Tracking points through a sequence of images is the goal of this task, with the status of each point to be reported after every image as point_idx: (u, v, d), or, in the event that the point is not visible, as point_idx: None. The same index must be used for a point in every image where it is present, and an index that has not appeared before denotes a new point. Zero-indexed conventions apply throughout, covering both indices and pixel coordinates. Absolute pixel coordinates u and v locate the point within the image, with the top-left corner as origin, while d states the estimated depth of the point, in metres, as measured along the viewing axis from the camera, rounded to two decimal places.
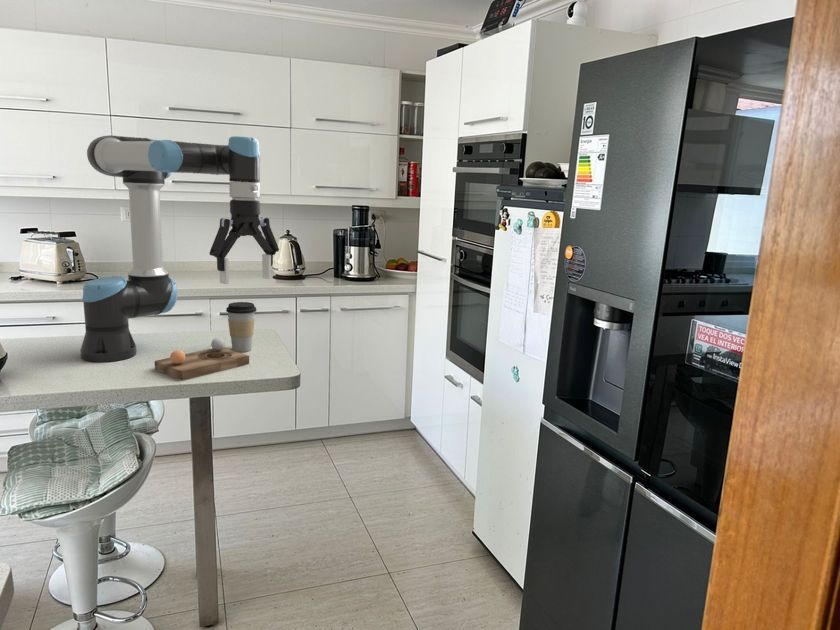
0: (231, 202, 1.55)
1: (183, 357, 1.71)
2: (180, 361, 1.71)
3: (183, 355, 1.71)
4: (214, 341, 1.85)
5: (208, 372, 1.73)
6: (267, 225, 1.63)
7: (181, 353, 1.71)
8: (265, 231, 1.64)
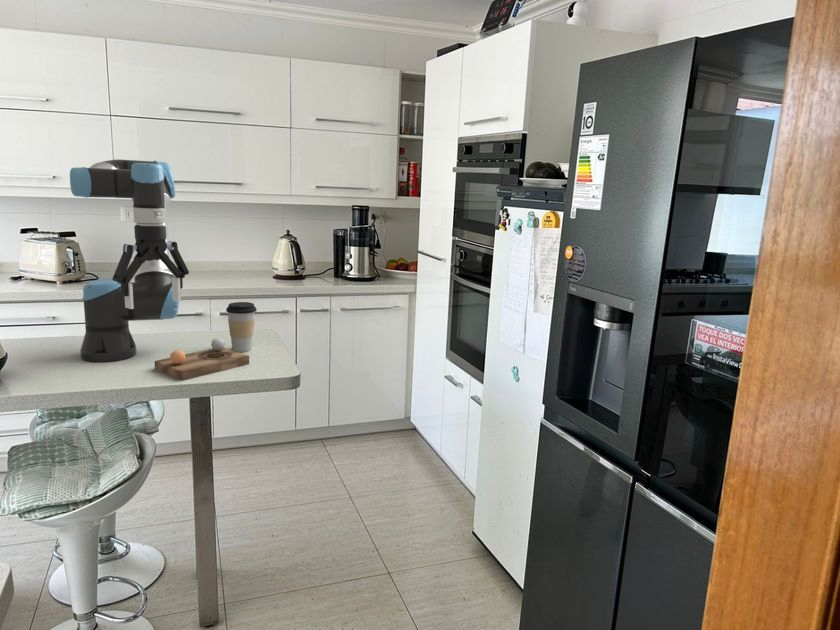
0: (135, 227, 1.56)
1: (183, 357, 1.71)
2: (180, 361, 1.71)
3: (183, 355, 1.71)
4: (214, 341, 1.85)
5: (208, 372, 1.73)
6: (175, 248, 1.64)
7: (181, 353, 1.71)
8: (173, 255, 1.65)
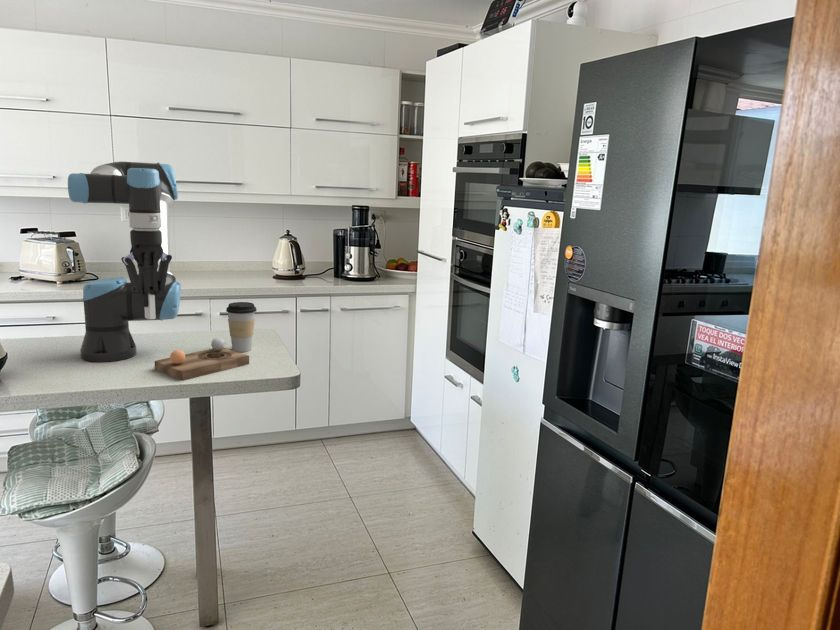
0: (131, 232, 1.56)
1: (183, 357, 1.71)
2: (180, 361, 1.71)
3: (183, 355, 1.71)
4: (214, 341, 1.85)
5: (208, 372, 1.73)
6: (167, 261, 1.63)
7: (181, 353, 1.71)
8: (161, 266, 1.63)
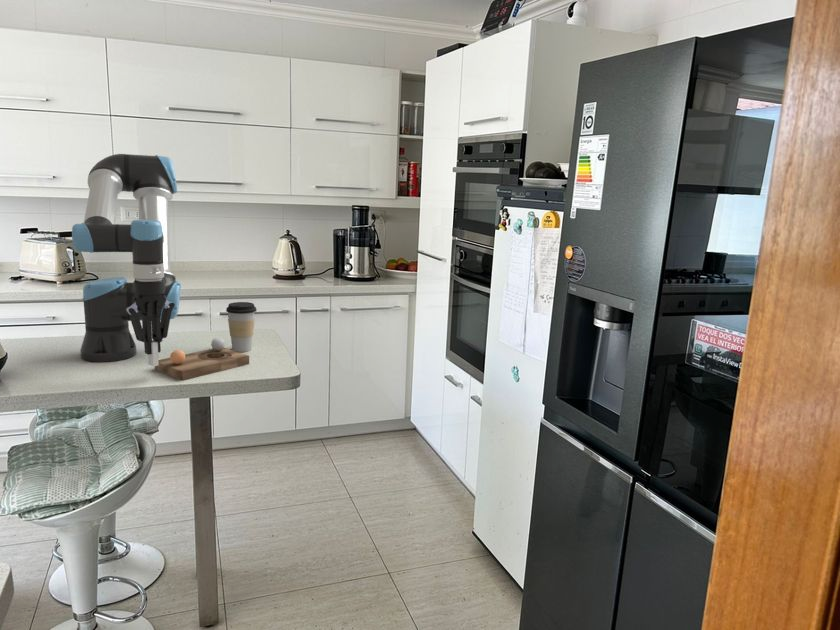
0: (134, 283, 1.59)
1: (183, 357, 1.71)
2: (180, 361, 1.71)
3: (183, 355, 1.71)
4: (214, 341, 1.85)
5: (208, 372, 1.73)
6: (170, 309, 1.66)
7: (181, 353, 1.71)
8: (164, 314, 1.66)
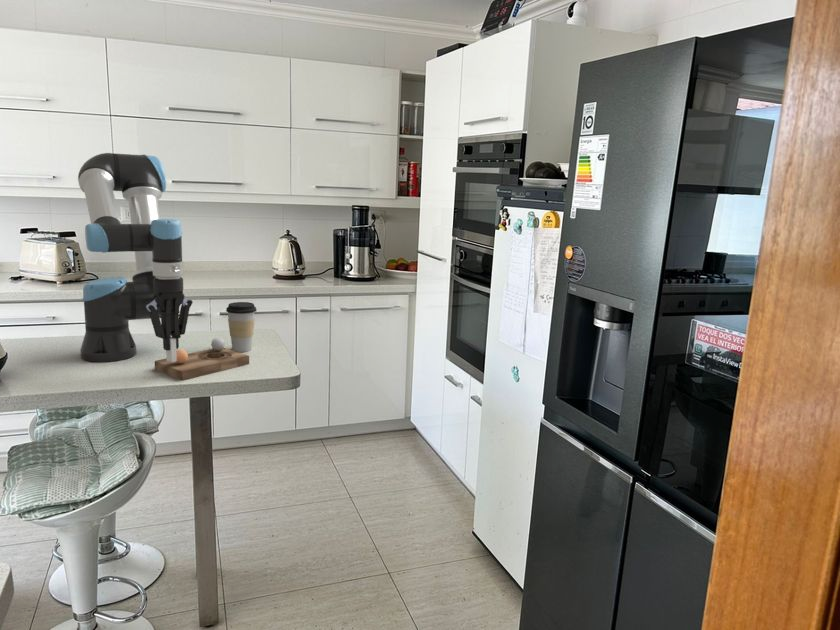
0: (154, 281, 1.63)
1: (186, 357, 1.72)
2: (182, 360, 1.71)
3: (186, 356, 1.72)
4: (214, 341, 1.85)
5: (208, 372, 1.73)
6: (188, 306, 1.70)
7: (185, 353, 1.72)
8: (182, 311, 1.71)
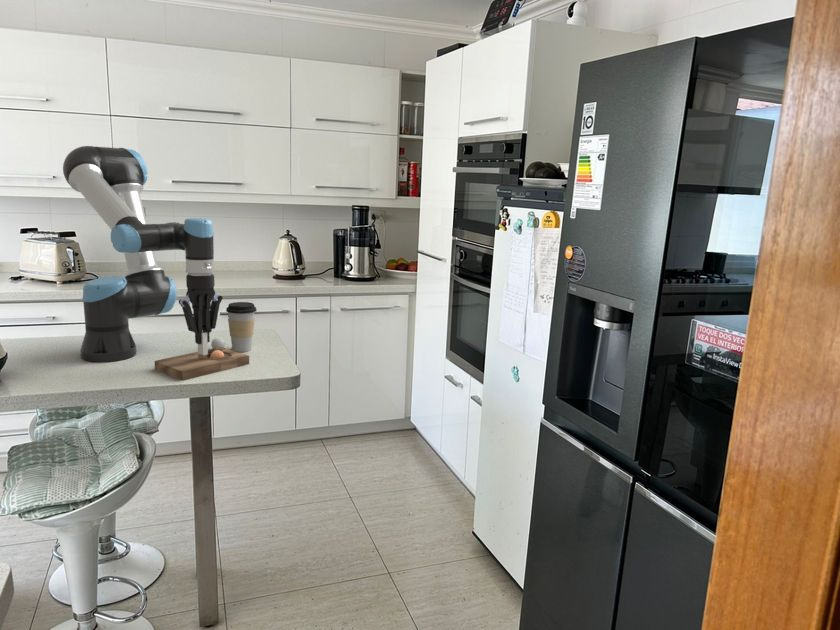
0: (187, 277, 1.71)
1: None
2: None
3: (223, 355, 1.82)
4: (214, 341, 1.85)
5: (208, 372, 1.73)
6: (218, 301, 1.78)
7: (221, 353, 1.81)
8: (213, 306, 1.78)
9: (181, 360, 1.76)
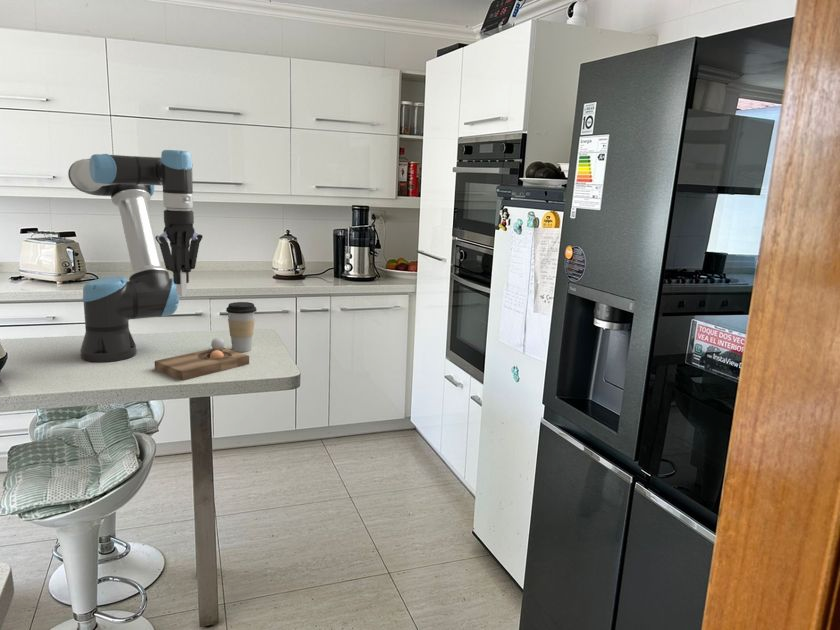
0: (164, 212, 1.63)
1: None
2: None
3: (222, 355, 1.82)
4: (214, 341, 1.85)
5: (208, 372, 1.73)
6: (198, 240, 1.70)
7: (220, 353, 1.81)
8: (192, 245, 1.70)
9: (181, 360, 1.76)
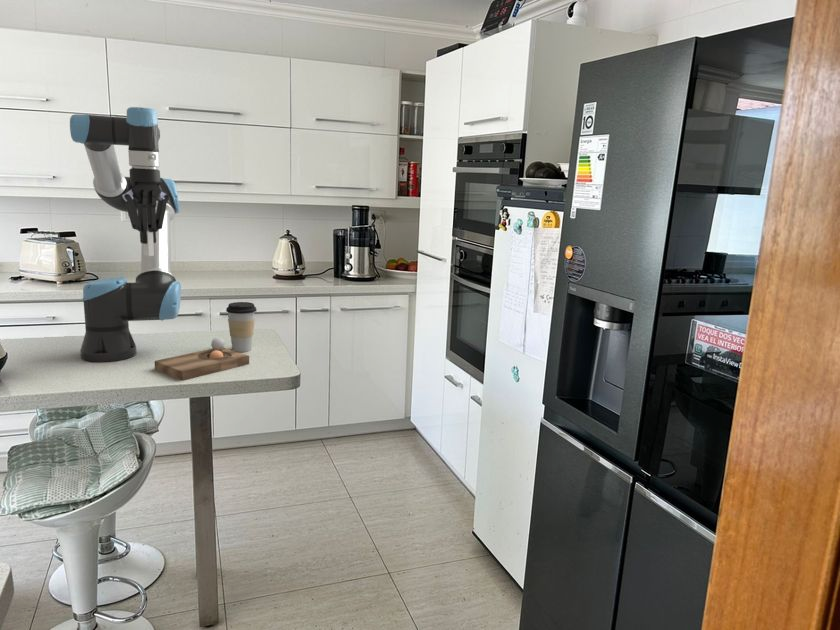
0: (130, 170, 1.62)
1: (221, 356, 1.81)
2: None
3: (221, 355, 1.82)
4: (214, 341, 1.85)
5: (208, 372, 1.73)
6: (165, 200, 1.70)
7: (219, 353, 1.81)
8: (160, 205, 1.70)
9: (181, 360, 1.76)
